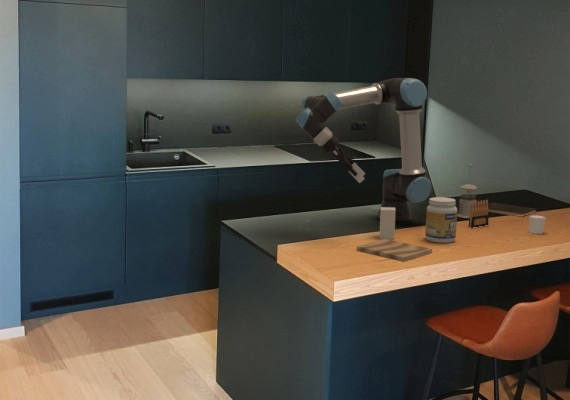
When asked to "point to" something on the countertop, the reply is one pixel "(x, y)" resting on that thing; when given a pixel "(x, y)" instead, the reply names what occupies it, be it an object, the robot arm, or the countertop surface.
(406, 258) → the wooden board
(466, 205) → the french press
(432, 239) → the supplement tub
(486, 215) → the ammunition clip
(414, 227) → the countertop surface
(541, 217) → the white cup
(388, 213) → the off-white block
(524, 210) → the hardcover book
